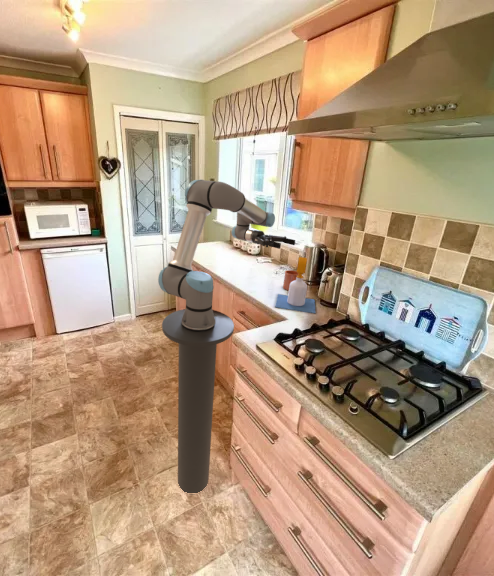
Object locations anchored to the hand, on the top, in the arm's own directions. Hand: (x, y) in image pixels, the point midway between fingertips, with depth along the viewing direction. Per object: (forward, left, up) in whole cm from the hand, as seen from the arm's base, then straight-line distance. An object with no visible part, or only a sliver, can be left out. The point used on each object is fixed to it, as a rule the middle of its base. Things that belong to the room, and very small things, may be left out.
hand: (287, 244), depth 157 cm
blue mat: (+8, -5, -30) cm, 32 cm away
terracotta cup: (+4, +17, -30) cm, 35 cm away
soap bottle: (+8, -5, -30) cm, 31 cm away
